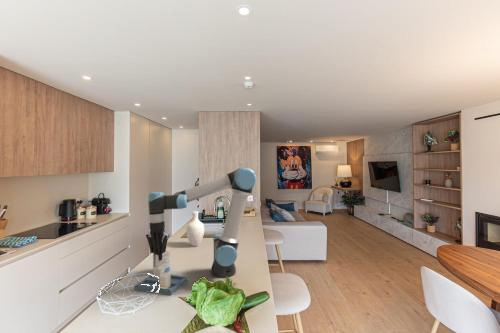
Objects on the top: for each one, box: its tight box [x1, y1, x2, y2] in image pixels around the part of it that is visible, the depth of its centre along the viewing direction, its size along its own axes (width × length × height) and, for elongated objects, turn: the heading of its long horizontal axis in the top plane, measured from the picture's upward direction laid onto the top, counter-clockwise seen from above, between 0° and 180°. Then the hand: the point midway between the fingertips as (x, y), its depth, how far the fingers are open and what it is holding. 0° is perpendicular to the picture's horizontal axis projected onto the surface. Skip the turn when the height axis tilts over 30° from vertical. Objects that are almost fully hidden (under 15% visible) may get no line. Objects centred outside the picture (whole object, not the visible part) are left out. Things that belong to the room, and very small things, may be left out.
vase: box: [185, 210, 205, 247], centre depth 202 cm, size 14×14×28 cm
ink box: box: [152, 250, 171, 274], centre depth 150 cm, size 9×5×12 cm, turn 141°
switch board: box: [133, 273, 189, 296], centre depth 133 cm, size 22×16×3 cm
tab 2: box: [159, 272, 171, 288], centre depth 128 cm, size 4×4×7 cm
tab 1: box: [154, 265, 164, 278], centre depth 138 cm, size 4×4×7 cm
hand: (158, 266), depth 129 cm, fingers closed
